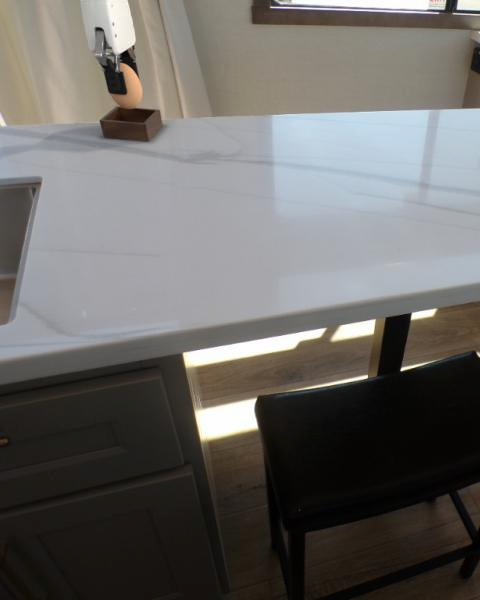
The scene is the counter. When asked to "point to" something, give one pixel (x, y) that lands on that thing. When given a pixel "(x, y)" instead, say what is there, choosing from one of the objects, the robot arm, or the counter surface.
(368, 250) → the counter surface
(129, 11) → the robot arm
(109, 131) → the open wooden tray
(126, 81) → the egg
